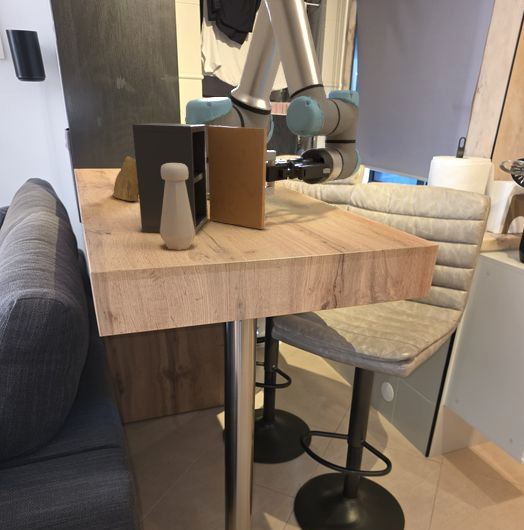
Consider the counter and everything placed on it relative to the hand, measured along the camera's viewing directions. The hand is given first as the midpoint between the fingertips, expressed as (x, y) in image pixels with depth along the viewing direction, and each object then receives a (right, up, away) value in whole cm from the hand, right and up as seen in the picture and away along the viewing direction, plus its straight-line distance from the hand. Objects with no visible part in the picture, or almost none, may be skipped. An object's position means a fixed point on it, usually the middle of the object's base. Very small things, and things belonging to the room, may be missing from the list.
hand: (259, 173), depth 88 cm
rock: (-34, +4, +27) cm, 43 cm away
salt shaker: (-14, -17, -12) cm, 25 cm away
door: (-3, -8, +6) cm, 10 cm away
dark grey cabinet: (-16, -10, +2) cm, 19 cm away
